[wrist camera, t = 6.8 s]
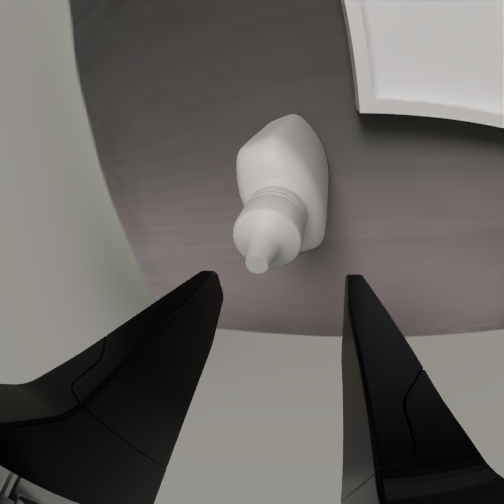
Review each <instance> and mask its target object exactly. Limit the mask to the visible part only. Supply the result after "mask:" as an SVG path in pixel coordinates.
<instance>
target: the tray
mask: <svg viewBox="0 0 504 504" xmlns="http://www.w3.org/2000/svg"><path fill="white" fill-rule="evenodd" d="M341 4H342V9H343V14H344V19H345V25H346V31H347V37H348V43H349V50H350V57H351V65H352V73H353V81H354V91H355V102H356V109H357V110H358V111H359V113H379V114H401V115H415V116H427V117H437V118H445V119H453V120H460V121H467V122H473V123H479V124H485V125H490V126H495V127H500V128H504V0H341Z"/></svg>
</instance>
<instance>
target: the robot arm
mask: <svg viewBox="0 0 504 504" xmlns="http://www.w3.org/2000/svg"><path fill="white" fill-rule="evenodd" d="M222 303H223V292H222V288H221V285H220V281H219V278H218V275H217V273H216V272H215V271H201V272H199V273H198V274H196V275H195V276H193V277H192V278H190V279H189V280H187V281H186V282H185V283H183V284H182V285H180V286H179V287H177V288H176V289H174V290H173V291H171V292H170V293H168V294H167V295H165V296H164V297H162V298H161V299H159V300H158V301H156V302H155V303H153V304H152V305H151V306H149V307H148V308H146V309H145V310H143V311H142V312H140V313H139V314H137V315H136V316H134V317H133V318H131V319H130V320H128V321H127V322H126V323H124V324H123V325H121V326H120V327H118V328H117V329H115V330H114V331H113V332H111V333H109V334H108V335H107V337H104V338H102V339H101V340H99V341H98V342H96V343H95V344H93V345H92V346H90V347H89V348H87V349H86V350H84V351H83V352H81V353H80V354H78V355H76V356H75V357H74V358H72V359H70V360H68V361H66V362H65V363H63V364H61V365H60V366H58V367H56V368H54V369H53V370H51V371H49V372H48V373H46V374H44V375H42V376H41V377H39V378H37V379H35V380H33V381H31V382H28V383H25V384H17V385H12V384H0V504H154V501H155V499H156V495H157V493H158V490H159V488H160V485H161V482H162V479H163V477H164V474H165V471H166V468H167V465H168V463H169V460H170V457H171V454H172V452H173V449H174V446H175V444H176V441H177V438H178V436H179V433H180V430H181V427H182V424H183V422H184V419H185V417H186V414H187V411H188V408H189V406H190V403H191V400H192V398H193V395H194V392H195V390H196V387H197V384H198V382H199V379H200V376H201V374H202V371H203V368H204V366H205V363H206V360H207V358H208V355H209V352H210V349H211V346H212V343H213V339H214V335H215V331H216V327H217V323H218V319H219V315H220V311H221V307H222ZM422 369H423V367H422V365H421V364H420V362H419V360H418V359H417V357H416V355H415V354H414V352H413V350H412V349H411V347H410V346H409V344H408V343H407V341H406V339H405V338H404V336H403V335H402V333H401V332H400V330H399V329H398V327H397V326H396V324H395V322H394V321H393V319H392V318H391V316H390V315H389V313H388V312H387V310H386V309H385V308H384V306H383V305H382V303H381V302H380V300H379V299H378V297H377V296H376V294H375V293H374V292H373V290H372V289H371V287H370V286H369V284H368V283H367V282H366V280H365V279H364V277H363V276H362V275H347V276H346V281H345V297H344V320H343V339H342V381H343V427H344V428H343V429H344V430H343V433H344V436H343V438H344V439H343V474H342V494H341V501H342V502H341V504H504V478H503V477H501V476H500V475H498V474H497V473H496V472H495V471H494V470H493V469H492V468H490V466H489V465H488V464H487V463H486V462H485V460H484V459H483V457H482V456H481V454H480V453H479V451H478V450H477V449H476V447H475V446H474V444H473V443H472V441H471V440H470V438H469V437H468V435H467V434H466V433H465V431H464V430H463V428H462V427H461V426H460V424H459V423H458V422H457V420H456V419H455V417H454V416H453V414H452V413H451V411H450V410H449V408H448V407H447V405H446V404H445V403H444V401H443V400H442V398H441V396H440V395H439V393H438V392H437V390H436V388H435V387H434V385H433V384H432V382H431V380H430V378H429V377H428V375H427V373H426V371H425V370H422Z"/></svg>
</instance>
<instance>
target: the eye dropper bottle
mask: <svg viewBox="0 0 504 504" xmlns="http://www.w3.org/2000/svg"><path fill="white" fill-rule="evenodd" d="M236 170H237V182H238V188H239V192H240V197H241V200H242V203H243V206H244V209H243V210H242V212H241V213H240V215H239V217H238V218H237V220H236V222H235V224H234V229H233V238H234V239H233V240H234V243H235V244H236V245H235V246H236V247H237V249H238V250H239V252H240V253H241V254H242V255H243V256H244V257H245V258H246V267H247V268H248V270H249V271H251V272H253V273H255V274H262V273H265V272H266V271H267V269H268V268H275V267H281V266H284V265H287V264H288V263H290V262H291V261H293V260H294V259H295V258H296V257H297V255H298V254H299V252H304V251H307V250H310V249H313V248H315V247H317V246H319V245H320V244H321V242H322V241H323V239H324V235H325V230H326V220H327V206H328V184H329V171H328V163H327V158H326V154H325V151H324V148H323V146H322V144H321V142H320V140H319V138H318V136H317V135H316V133H315V132H314V130H313V129H312V128H311V126H310V125H309V124H308V123H307V122H306V121H305V120H304V119H303V118H302V117H300V116H299V115H296V114H290V115H287V116H284V117H281V118H279V119H276V120H274V121H272V122H270V123H269V124H268V125H267V126H265V127H264V128H263V129H262V130H261V131H259V132H258V133H257V134H256V135H255V136H254V137H253V138H251V139H250V140H249V141H248V142H247V143H246V144H245V145H244V146H243V147H242V148H241V149H240V151H239V153H238V156H237V164H236Z"/></svg>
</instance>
